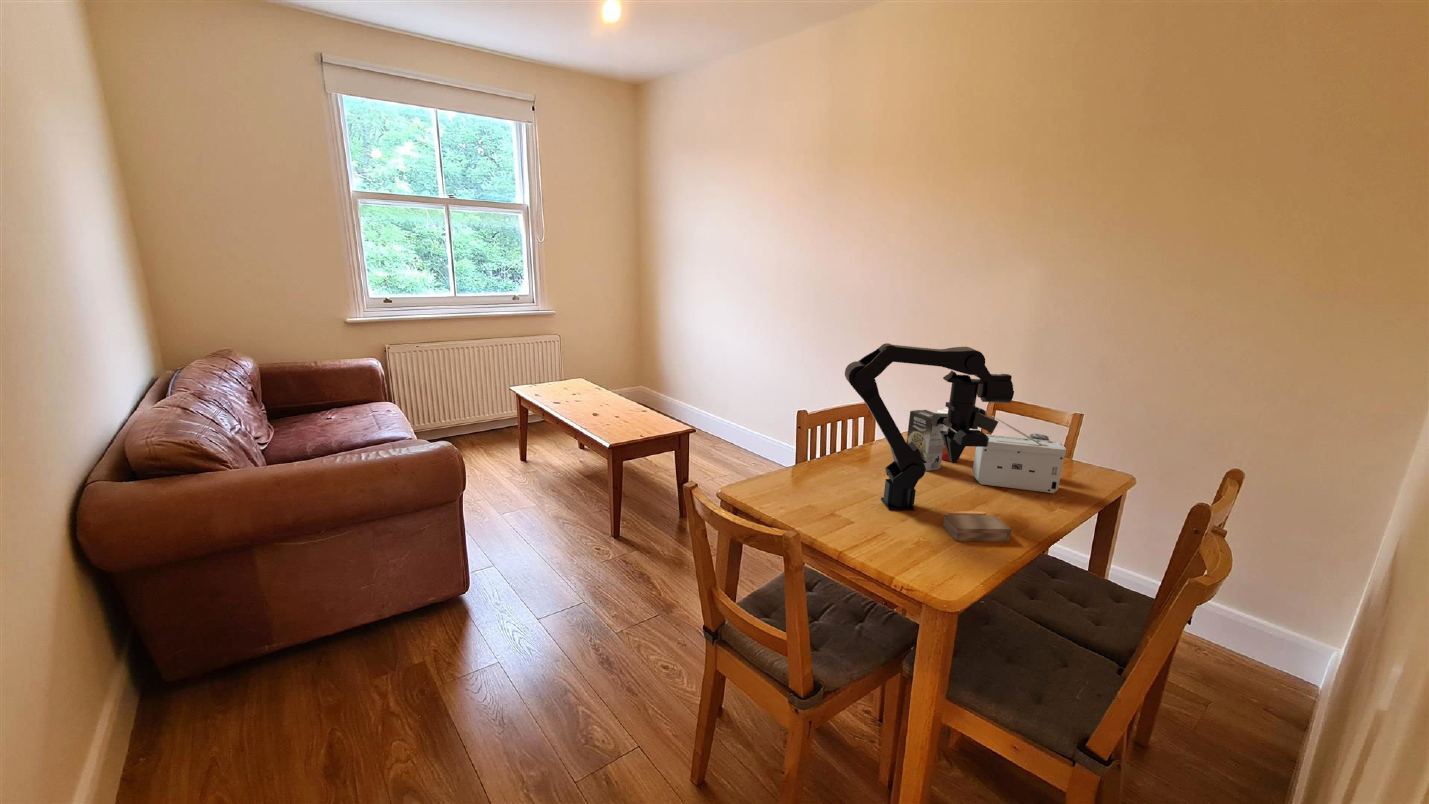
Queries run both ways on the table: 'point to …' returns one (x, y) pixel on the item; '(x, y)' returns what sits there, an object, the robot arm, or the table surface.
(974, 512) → the plate
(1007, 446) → the stereo radio cassette player
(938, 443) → the coffee box
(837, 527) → the table surface
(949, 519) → the taupe rectangular slab
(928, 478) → the table surface
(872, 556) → the table surface
